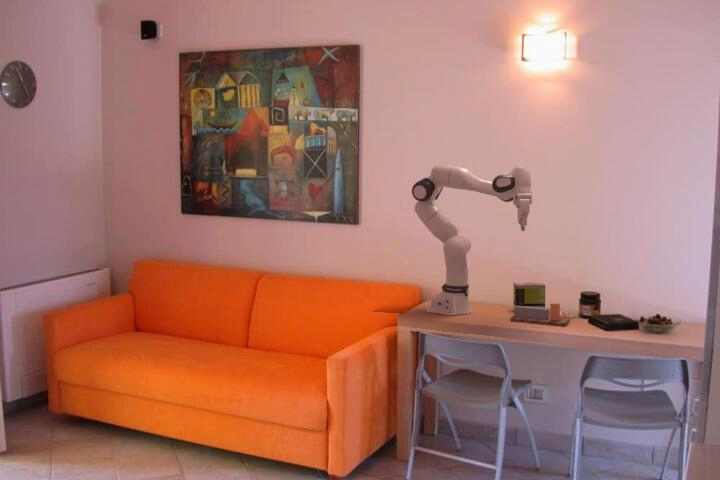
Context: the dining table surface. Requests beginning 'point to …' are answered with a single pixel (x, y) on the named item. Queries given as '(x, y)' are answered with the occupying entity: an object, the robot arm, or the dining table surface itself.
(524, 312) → the grey long bar
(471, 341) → the dining table surface
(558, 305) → the stub
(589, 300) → the supplement container
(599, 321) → the portable cd player
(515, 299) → the tea box
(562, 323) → the brown flat board
